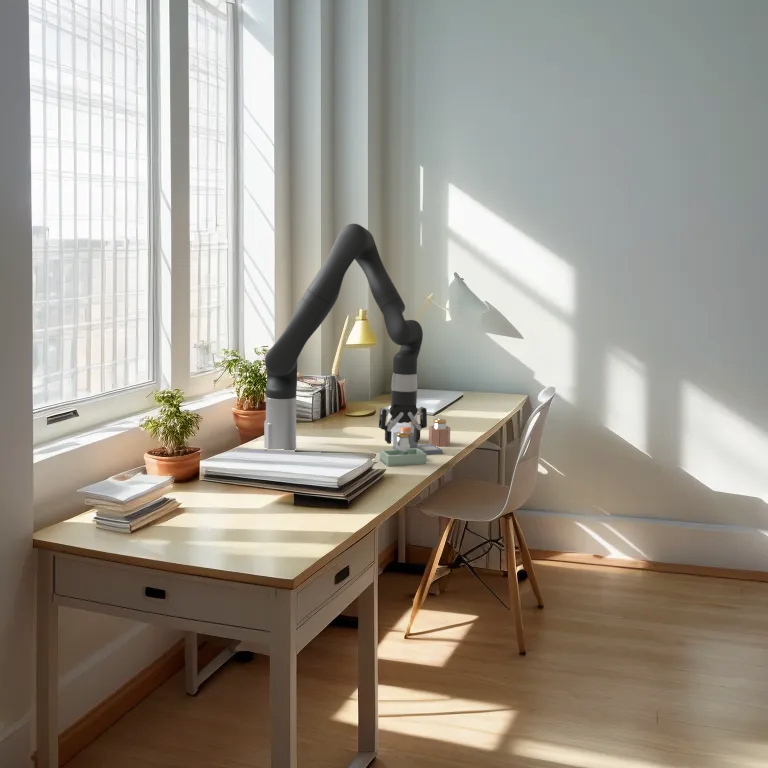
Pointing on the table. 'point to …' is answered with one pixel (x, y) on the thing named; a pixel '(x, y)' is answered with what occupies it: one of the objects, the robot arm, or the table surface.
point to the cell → (403, 443)
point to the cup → (439, 436)
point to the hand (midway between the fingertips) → (402, 442)
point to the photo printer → (400, 425)
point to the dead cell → (439, 423)
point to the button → (406, 429)
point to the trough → (403, 457)
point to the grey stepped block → (423, 447)
